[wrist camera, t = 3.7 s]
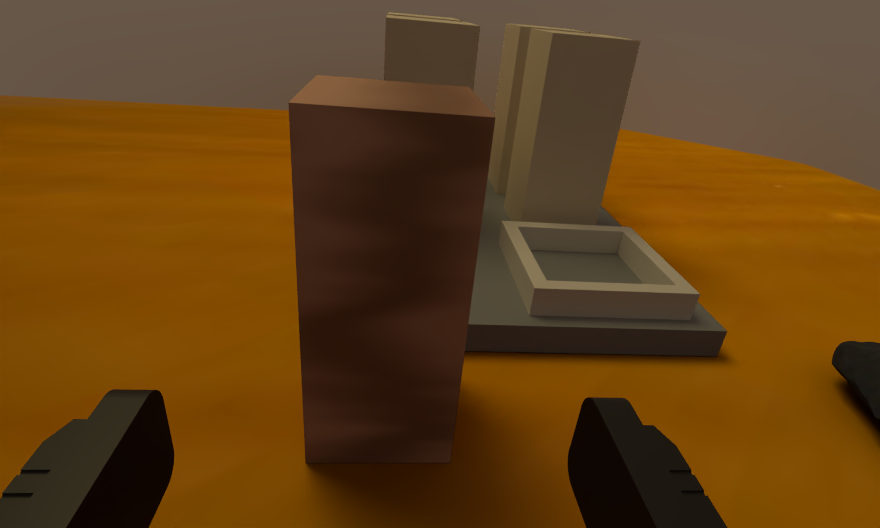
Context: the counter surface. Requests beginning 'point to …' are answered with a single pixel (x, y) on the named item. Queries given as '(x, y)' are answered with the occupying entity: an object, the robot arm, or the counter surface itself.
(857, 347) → the dark slate chunk
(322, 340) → the terracotta pillar
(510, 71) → the pillar board
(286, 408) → the counter surface
